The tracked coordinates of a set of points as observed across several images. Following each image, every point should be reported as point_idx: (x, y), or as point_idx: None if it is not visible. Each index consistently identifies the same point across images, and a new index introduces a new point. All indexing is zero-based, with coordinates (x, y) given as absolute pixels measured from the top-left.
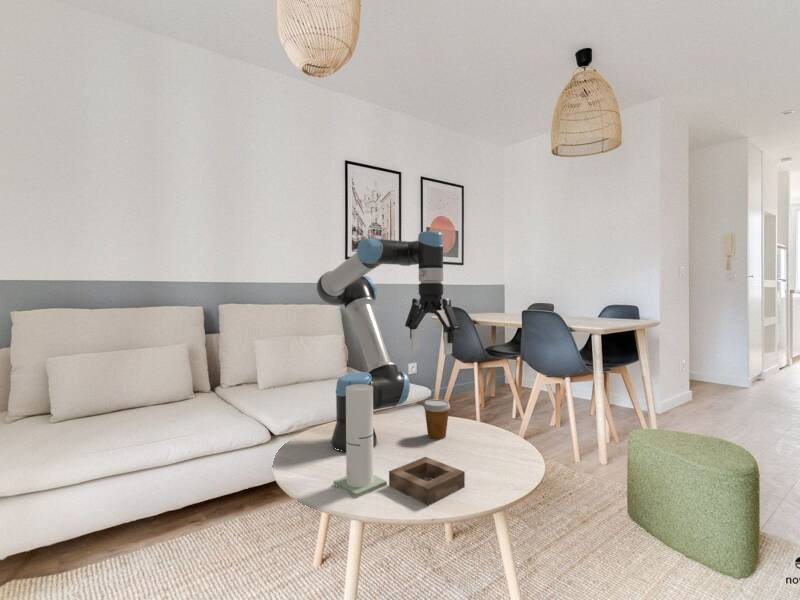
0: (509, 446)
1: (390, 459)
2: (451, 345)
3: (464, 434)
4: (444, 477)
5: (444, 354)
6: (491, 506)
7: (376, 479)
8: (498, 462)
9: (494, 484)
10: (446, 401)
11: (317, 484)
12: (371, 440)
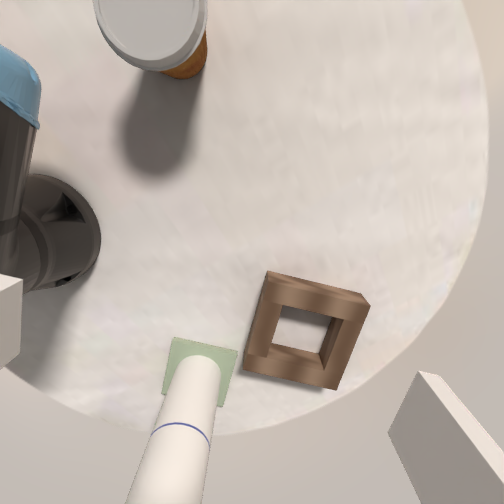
0: (400, 10)
1: (175, 260)
2: (489, 448)
3: None
4: (344, 344)
5: (390, 434)
6: (420, 329)
7: (218, 358)
8: (394, 147)
9: (409, 257)
10: None
11: (141, 399)
12: (210, 435)
